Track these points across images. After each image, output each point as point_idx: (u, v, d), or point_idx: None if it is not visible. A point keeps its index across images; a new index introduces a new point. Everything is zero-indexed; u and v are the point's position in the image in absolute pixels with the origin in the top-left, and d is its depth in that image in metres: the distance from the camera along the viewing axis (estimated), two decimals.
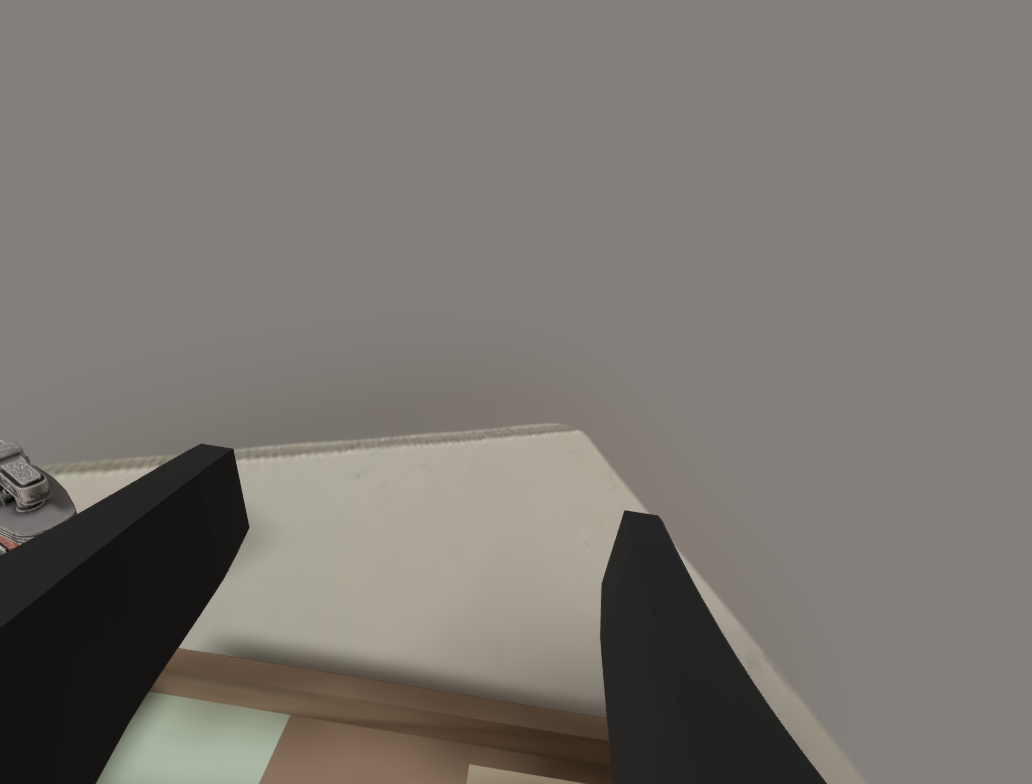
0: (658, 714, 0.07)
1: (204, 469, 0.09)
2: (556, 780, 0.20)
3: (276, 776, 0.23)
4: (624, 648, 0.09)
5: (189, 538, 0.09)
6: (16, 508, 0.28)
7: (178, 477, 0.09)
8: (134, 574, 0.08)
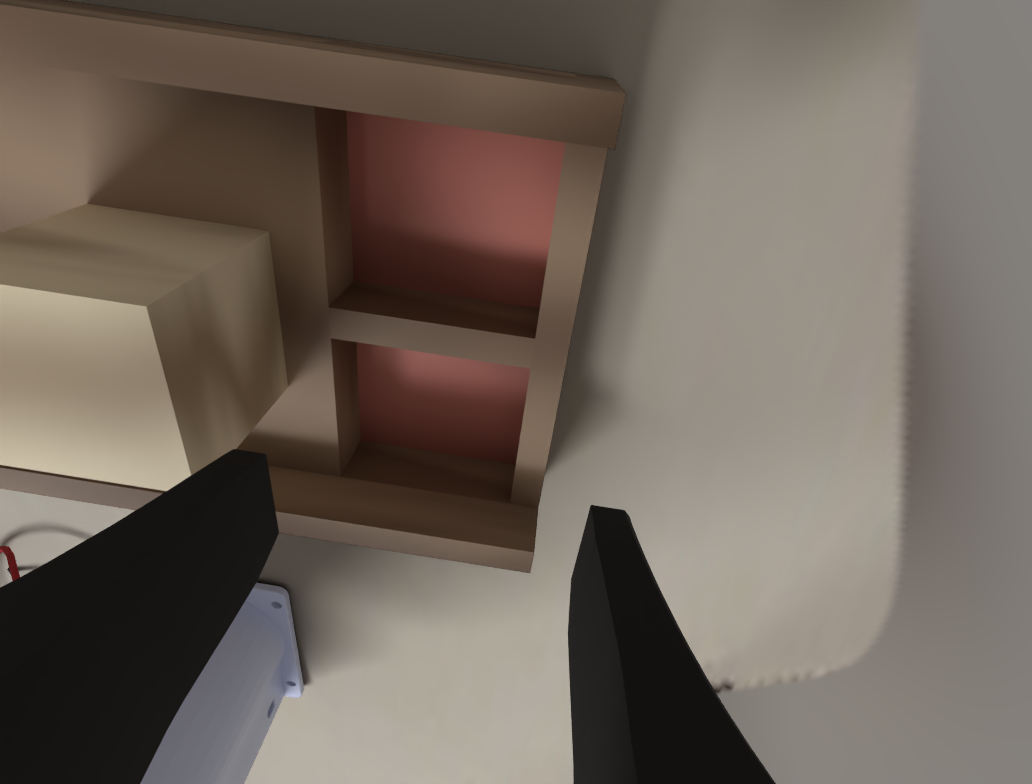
0: (610, 706, 0.07)
1: (240, 475, 0.09)
2: (59, 290, 0.11)
3: None
4: (586, 641, 0.09)
5: (225, 544, 0.09)
6: None
7: (215, 483, 0.09)
8: (175, 581, 0.08)
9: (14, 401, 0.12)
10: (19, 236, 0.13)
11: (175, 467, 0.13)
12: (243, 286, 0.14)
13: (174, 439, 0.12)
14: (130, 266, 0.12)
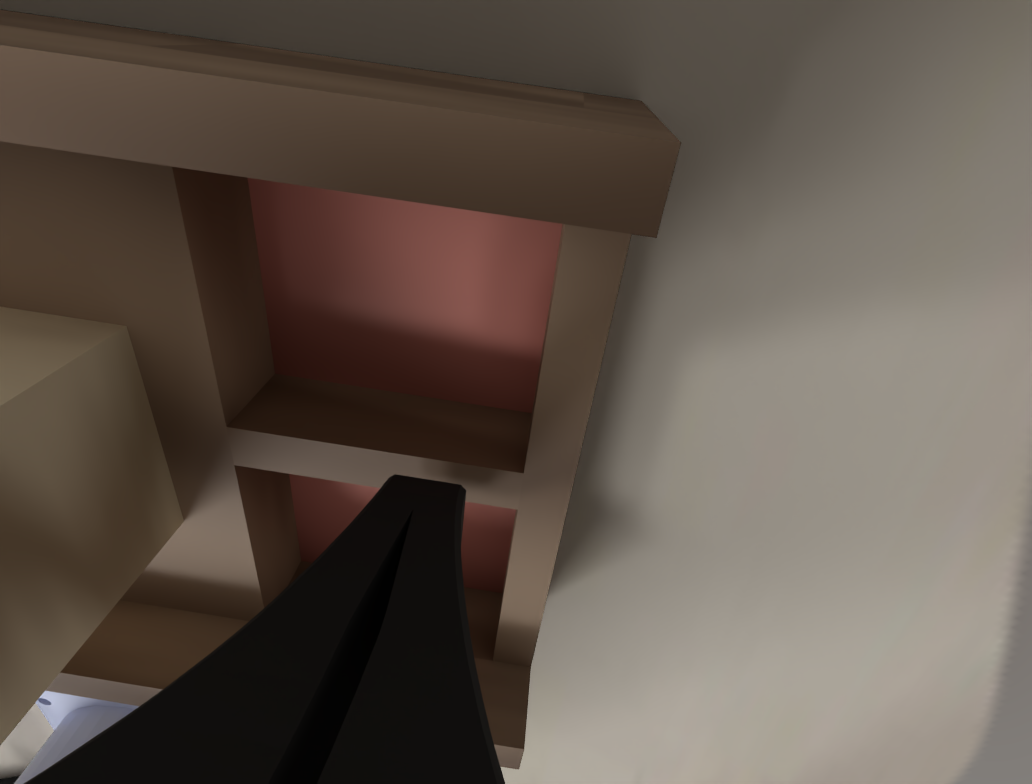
0: None
1: (413, 502, 0.09)
2: None
3: None
4: None
5: None
6: None
7: (397, 512, 0.09)
8: (375, 613, 0.08)
9: None
10: None
11: None
12: (75, 419, 0.09)
13: None
14: None
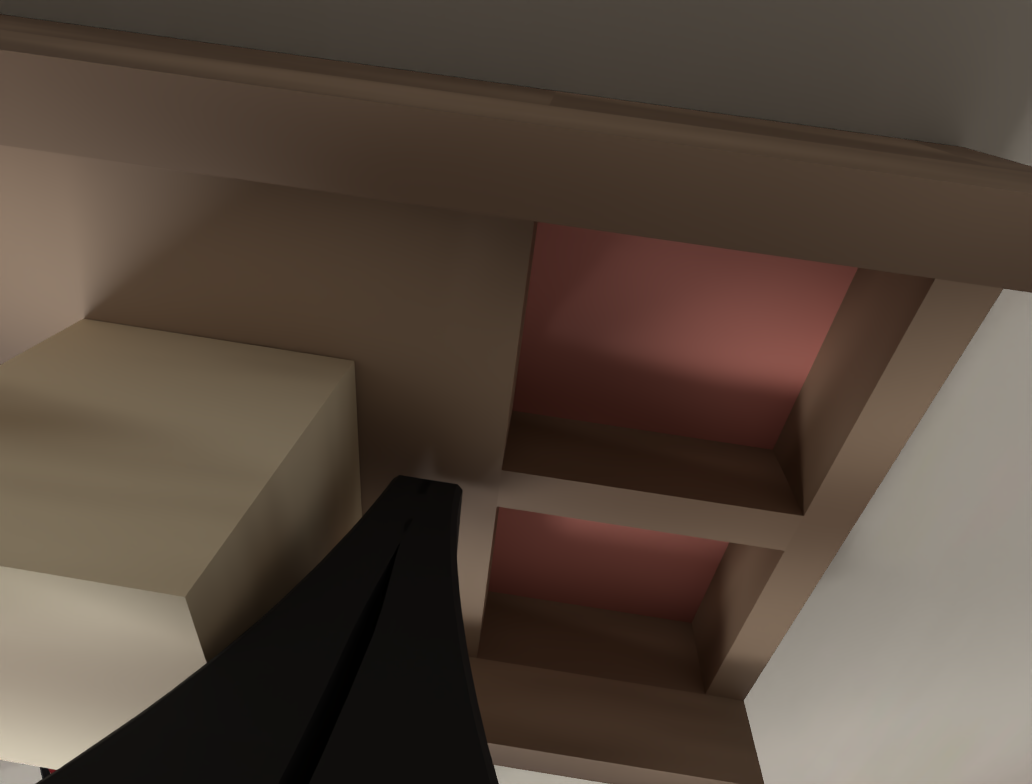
0: None
1: (418, 503, 0.09)
2: (26, 560, 0.06)
3: None
4: None
5: None
6: None
7: (402, 512, 0.09)
8: None
9: None
10: None
11: None
12: (322, 458, 0.09)
13: None
14: (151, 472, 0.07)
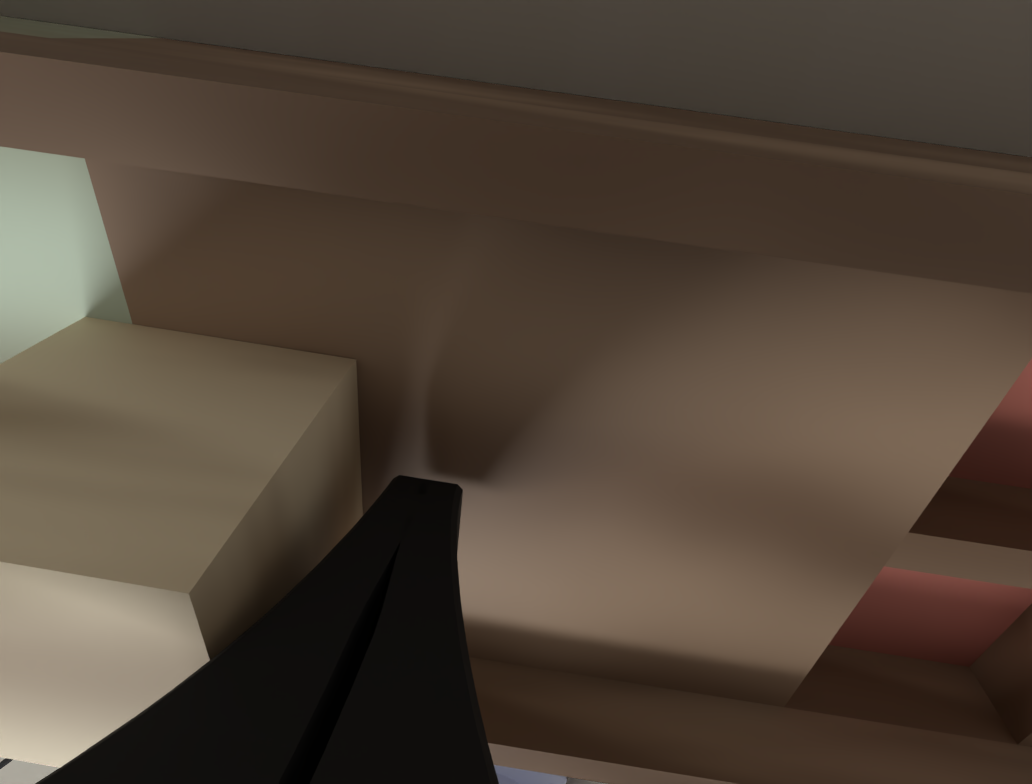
0: None
1: (418, 503, 0.09)
2: (29, 556, 0.06)
3: (152, 285, 0.10)
4: None
5: None
6: None
7: (402, 512, 0.09)
8: None
9: None
10: None
11: None
12: (324, 456, 0.09)
13: None
14: (154, 469, 0.07)
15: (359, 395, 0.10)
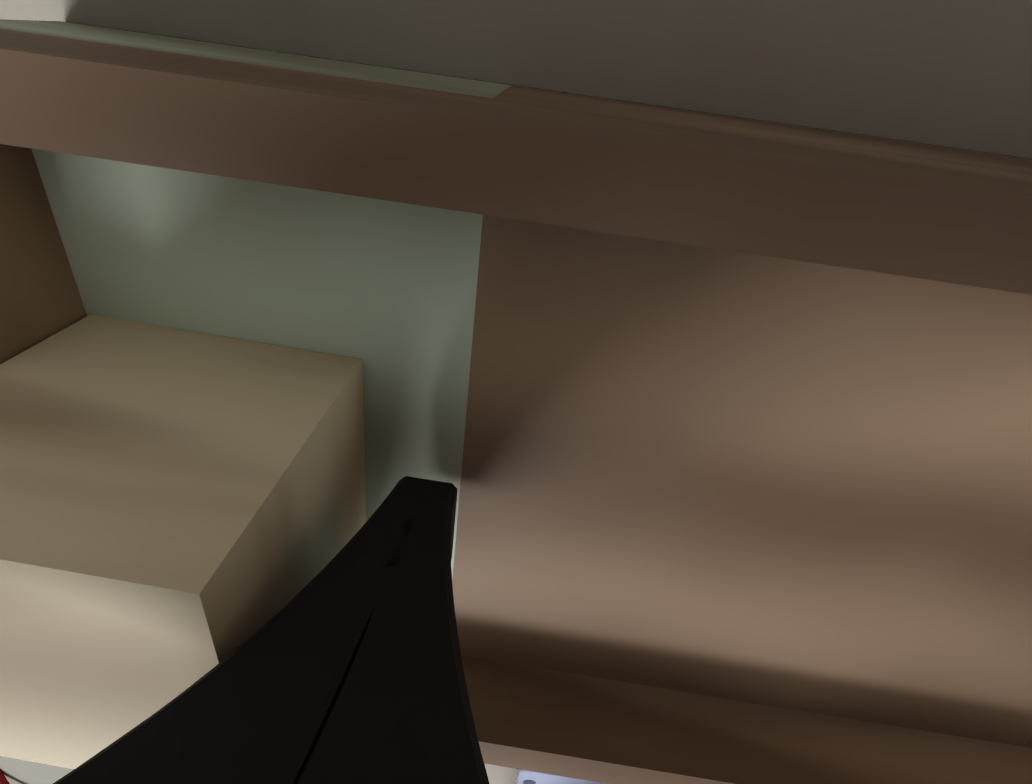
0: None
1: (425, 504, 0.09)
2: (38, 556, 0.06)
3: (506, 337, 0.09)
4: None
5: None
6: None
7: (409, 514, 0.09)
8: None
9: None
10: None
11: None
12: (330, 456, 0.09)
13: None
14: (162, 468, 0.07)
15: (687, 445, 0.10)
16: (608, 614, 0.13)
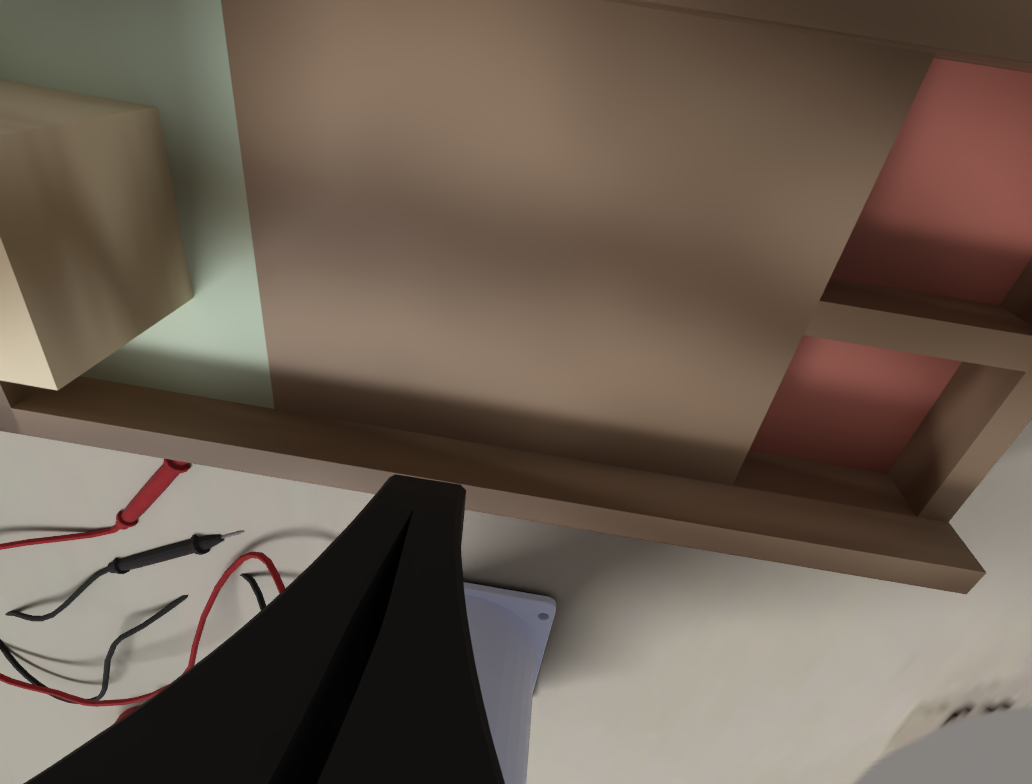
0: None
1: (413, 502, 0.09)
2: None
3: (255, 83, 0.13)
4: None
5: None
6: None
7: (397, 511, 0.09)
8: (376, 613, 0.08)
9: None
10: None
11: (29, 354, 0.11)
12: (120, 161, 0.13)
13: (21, 317, 0.11)
14: None
15: (405, 181, 0.14)
16: (388, 358, 0.17)
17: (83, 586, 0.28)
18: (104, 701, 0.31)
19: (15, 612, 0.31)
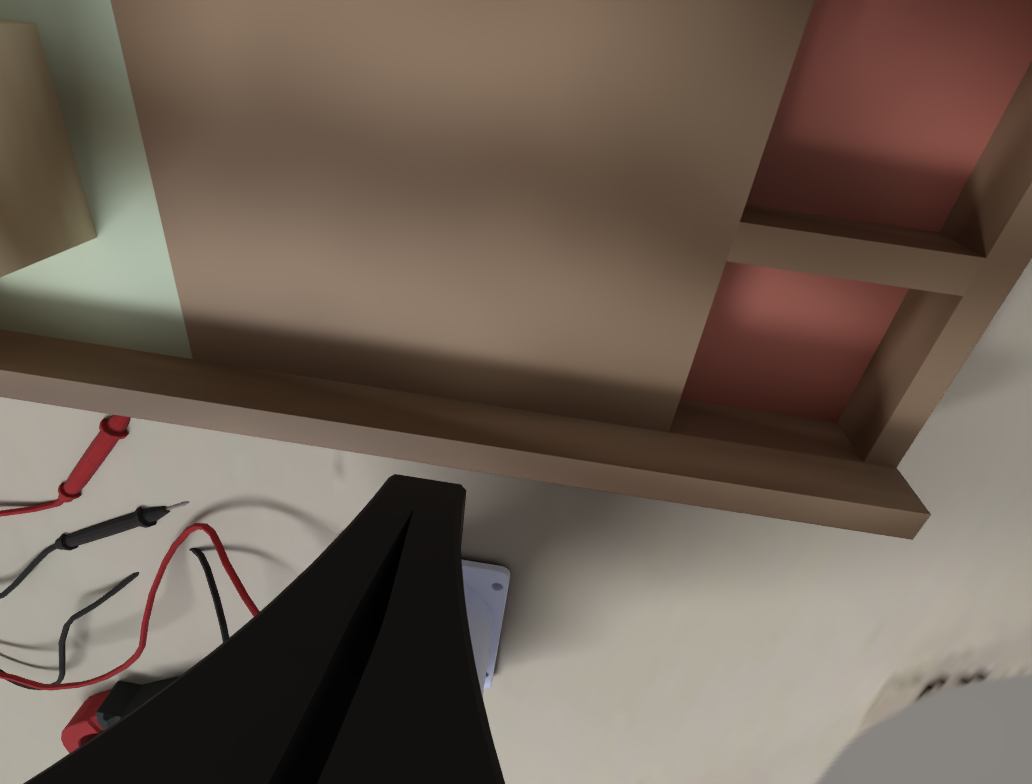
0: None
1: (413, 502, 0.09)
2: None
3: None
4: None
5: None
6: None
7: (397, 512, 0.09)
8: (375, 613, 0.08)
9: None
10: None
11: None
12: None
13: None
14: None
15: (299, 99, 0.13)
16: (302, 300, 0.16)
17: (32, 564, 0.28)
18: (59, 684, 0.31)
19: None
